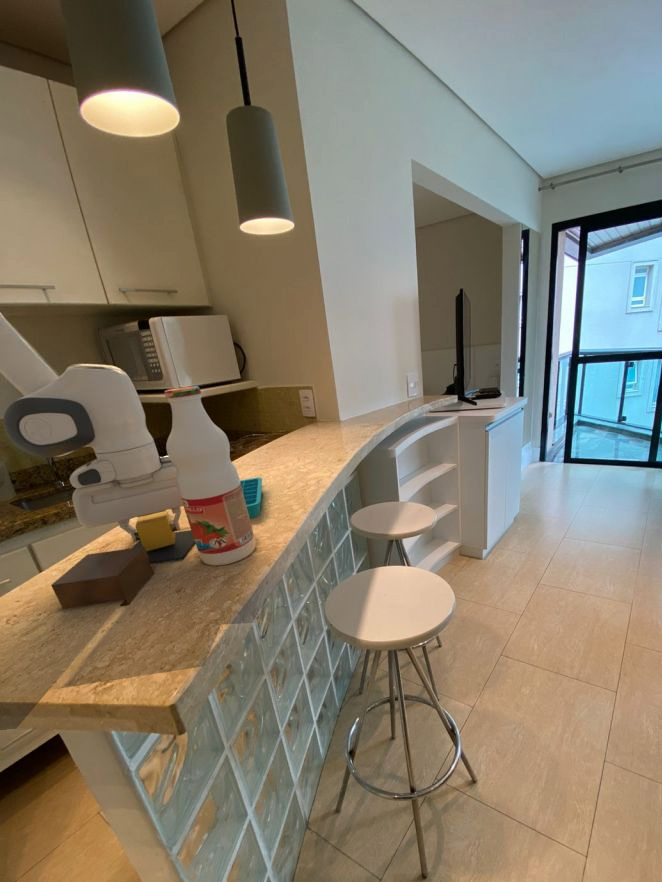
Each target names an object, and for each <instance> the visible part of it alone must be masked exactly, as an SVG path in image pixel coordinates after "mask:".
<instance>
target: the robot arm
mask: <svg viewBox="0 0 662 882" xmlns="http://www.w3.org/2000/svg"><path fill="white" fill-rule="evenodd" d="M0 374H1V375H2V376H3V377H4V378H5V379H6V380H7V381H8V382H9V383H10V384H11V385H12V386H13V387H14V388H15V389H16V390H18V391H19V392H20V393H21V395H22V397H20V398H18V399H16V400H15V401H13V402H12V403H10V405H9V406H8V407H7V408H6V410H5V412H4V415H3V428H4V431H5V433H6V435H7V437H8V439H9V440H10V441H11V442H12V443H13V444H14V445H15V446H16V447H17V448H19V449H20V450H22V451H23V452H25V453H27V454H29V455H32V456H35V457H38V458H59V457H62V456H66V455H68V454H71V453H73V452H75V451H77V450H80V449H82V448H86V447H88V448H89V447H90V448H91V449H93V451H94V454H95V457H96V458H95V459H93V460H91V461H89V462H87V463H85V464H83V465H81V466H80V467H78V468H76V469H75V470H74V471H73V472H72V473H71V474H70V477H69V482H70V484H71V486H72V487H73V488H75V490H74V491H73V492H72V499H71V500H72V506H73V509H74V512H75V516H76V518H77V521H78V522H79V524H80V526H82V527H84V528H86V529H92V528H97V527H101V526H105V525H110V524H114V523H117V524H118V526H119V528H121V529H122V530H123V531H124V532H126V533H128V534H130V536H131V539H132V542H134V543H135V542H138V541H139V540H140V537H139V535H138V532H137V530H136V527H133V525H131V524H130V522H131V521H130V520H132V519H135V518H138V517H139V516H144V515H148V514H152V513H156V512H160V511H169V510H171V512H172V514H173V515H174V517H173V519H170V520H171V521H170V527H171V530H172V532H179V531H181V524H180V518H181V514H182V507H184V506H183V503H182V500H181V497H180V494H179V491H178V487H177V483H176V476H177V471H176V468H175V466H174V465H173V463H172V462H171V460H170V458H169V456H168V455H165V456H160V455H159V452H158V449H157V446H156V443H155V440H154V438H153V436H152V435H151V433H150V432H149V430H148V427H147V422H146V420H147V419H146V418H147V417H146V413H145V410H144V407H143V404H142V402H141V399H140V396H139V394H138V392H137V390H136V387H135V385H134V383H133V381H132V379H131V378H130V376H129V375H128V374H127V372H125V371H124V369H122V368H120V367H117V366H115V365H109V364H99V363H98V364H97V363H96V364H95V363H76V364H71V365H68V366H67V368H65V371H64V372H63V373H62V374H61V375H60V374H59V373H58V372H57V370H56V369H54V368H53V366H51V364H49V362H48V361H47V360H46V359H45V358H44V357H43V356H42V355H41V353H39V352H38V350H36V348H35V347H33V345H32V344H31V343H30V342H29V341H28V340H27V339H26V338H25V337H24V336H23V335H22V334H21V333H20V332H19V331H18V330H17V329H16V327H15V326H14V325H13V324H12V323H11V322H10V321H9V320H8V319H7V318H6V317H5V316H4V315H3V314H2V313H1V312H0Z"/></svg>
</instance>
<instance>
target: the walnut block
mask: <svg viewBox="0 0 662 882" xmlns="http://www.w3.org/2000/svg"><path fill="white" fill-rule="evenodd" d="M154 574H155V571H154V567H153V564H151V562H150V560H149V557H148V555H147V552H146V549H145V547H138V548H132V547H131V548H125V549H117V550H110V551H102V552H96V553H95V552H94V553H88V554H86V555H85V556H84V557H83V558H81V559H80V560H79V561H78V562H76V563H75V564H74V565H73V566H72V567H71V568H70V569H68V570H67V571H66V572H65V573H63V574H62V575H61V576H60V577H59V578H57V579H56V580H55V581H54V582H52V584H50V586H51V588H52V590H53V592H54V593H55V596H56V598H57V600H58V602H59V604H60V606H61V608H62V609H63V610H65V609H71V608H77V607H78V608H79V607H85V606H91V605H92V606H93V605H99V604H107V603H113V602H121V601H122V602H121V603H120V604H119V607H124V606H129V605H130V604H131V603H132V602H133V601H134V599H135V598H136V597H137V595H138V594H139V593H140V592H141V590H142V589H143V588H144V587H145V586H146V584H147V583H148V582H149V580H151V579H152V577H153V576H154Z"/></svg>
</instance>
